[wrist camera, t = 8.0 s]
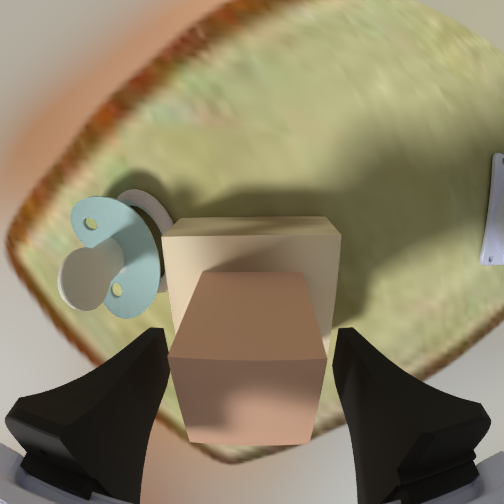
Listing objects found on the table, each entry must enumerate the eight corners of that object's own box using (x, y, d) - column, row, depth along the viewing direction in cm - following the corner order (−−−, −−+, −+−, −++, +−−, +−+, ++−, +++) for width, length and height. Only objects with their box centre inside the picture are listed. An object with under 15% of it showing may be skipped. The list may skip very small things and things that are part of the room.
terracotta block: (301, 271, 13) (327, 358, 8) (295, 350, 15) (309, 443, 9) (202, 271, 14) (167, 356, 8) (209, 349, 15) (190, 441, 9)
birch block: (325, 216, 16) (341, 235, 13) (315, 336, 19) (324, 372, 16) (180, 218, 16) (161, 236, 13) (193, 337, 19) (183, 371, 16)
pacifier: (162, 170, 16) (78, 201, 16) (115, 185, 10) (14, 229, 10) (199, 287, 18) (117, 304, 18) (178, 351, 12) (77, 361, 13)
